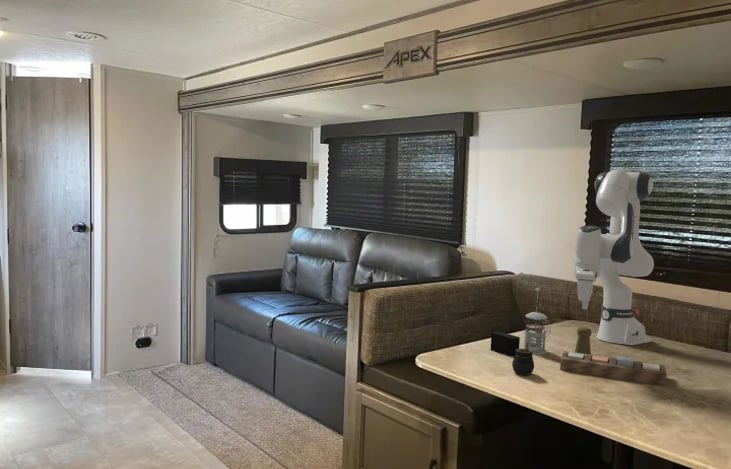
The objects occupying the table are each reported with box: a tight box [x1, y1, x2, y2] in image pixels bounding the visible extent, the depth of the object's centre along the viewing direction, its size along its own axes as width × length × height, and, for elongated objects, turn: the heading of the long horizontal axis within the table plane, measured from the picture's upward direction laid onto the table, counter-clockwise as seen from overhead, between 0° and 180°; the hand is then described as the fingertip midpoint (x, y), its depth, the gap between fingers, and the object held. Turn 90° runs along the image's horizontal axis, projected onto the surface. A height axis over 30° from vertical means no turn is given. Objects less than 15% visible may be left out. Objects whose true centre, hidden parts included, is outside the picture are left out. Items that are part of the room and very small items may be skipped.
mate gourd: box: [511, 343, 535, 376], centre depth 196 cm, size 7×8×10 cm
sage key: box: [568, 351, 584, 360], centre depth 205 cm, size 5×5×2 cm
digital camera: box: [490, 330, 521, 357], centre depth 221 cm, size 10×5×7 cm, turn 38°
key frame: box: [559, 350, 668, 387], centre depth 200 cm, size 33×11×4 cm, turn 66°
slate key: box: [616, 355, 634, 367], centre depth 198 cm, size 5×5×2 cm
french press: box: [521, 287, 552, 356], centre depth 224 cm, size 10×12×25 cm
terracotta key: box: [592, 354, 609, 363], centre depth 202 cm, size 5×5×2 cm
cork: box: [574, 326, 592, 355], centre depth 220 cm, size 6×6×11 cm
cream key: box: [642, 362, 660, 371], centre depth 195 cm, size 5×5×2 cm
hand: (585, 308), depth 210 cm, fingers closed
